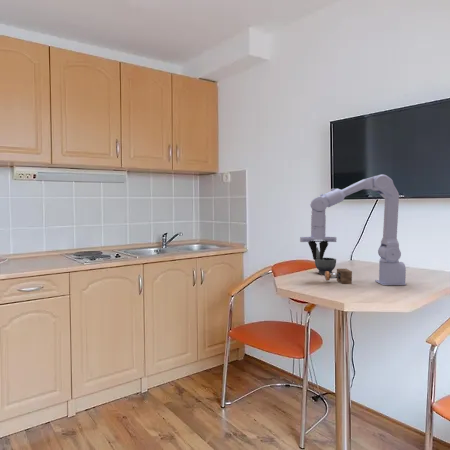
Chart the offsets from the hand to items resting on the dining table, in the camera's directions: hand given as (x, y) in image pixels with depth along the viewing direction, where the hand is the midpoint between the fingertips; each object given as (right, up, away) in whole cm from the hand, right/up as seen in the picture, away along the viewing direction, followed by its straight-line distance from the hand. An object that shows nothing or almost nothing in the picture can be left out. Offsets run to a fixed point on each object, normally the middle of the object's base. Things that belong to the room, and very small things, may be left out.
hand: (317, 259), depth 161 cm
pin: (+6, -9, +1) cm, 11 cm away
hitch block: (+11, -9, +1) cm, 14 cm away
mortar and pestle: (+8, -9, +20) cm, 23 cm away
